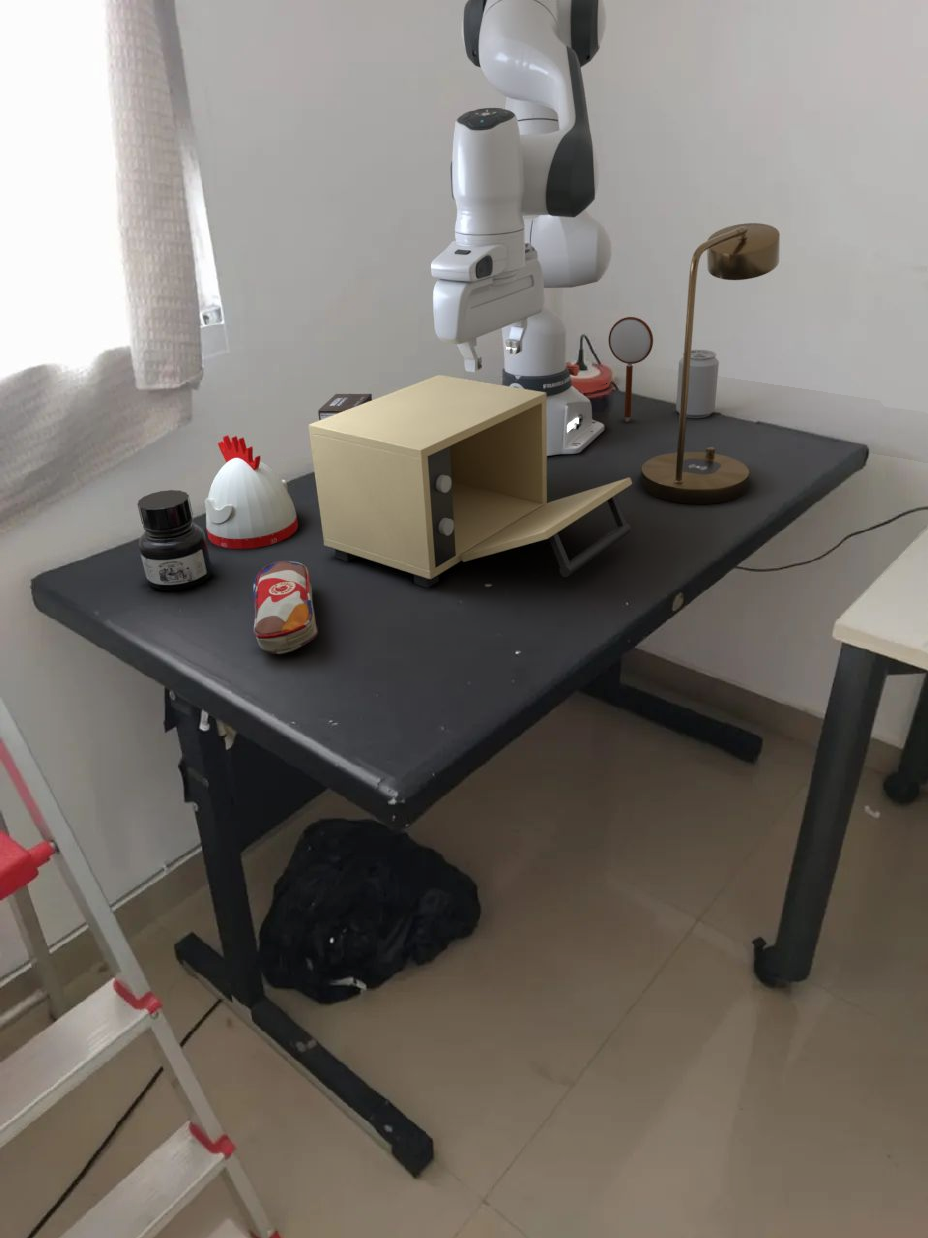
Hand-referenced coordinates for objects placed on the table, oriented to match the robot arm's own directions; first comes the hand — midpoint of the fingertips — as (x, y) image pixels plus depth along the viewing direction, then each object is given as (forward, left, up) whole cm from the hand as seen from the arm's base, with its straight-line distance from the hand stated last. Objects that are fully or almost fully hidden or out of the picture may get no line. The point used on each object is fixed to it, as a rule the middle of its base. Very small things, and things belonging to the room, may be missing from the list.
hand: (494, 361), depth 127 cm
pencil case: (+35, -8, -26) cm, 45 cm away
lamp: (-39, +15, -26) cm, 49 cm away
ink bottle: (+35, -30, -26) cm, 53 cm away
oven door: (+2, +5, -26) cm, 27 cm away
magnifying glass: (-57, -10, -26) cm, 64 cm away
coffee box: (-1, -30, -26) cm, 40 cm away
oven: (+5, -7, -26) cm, 28 cm away
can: (-68, -1, -26) cm, 73 cm away
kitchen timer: (+18, -34, -26) cm, 47 cm away
